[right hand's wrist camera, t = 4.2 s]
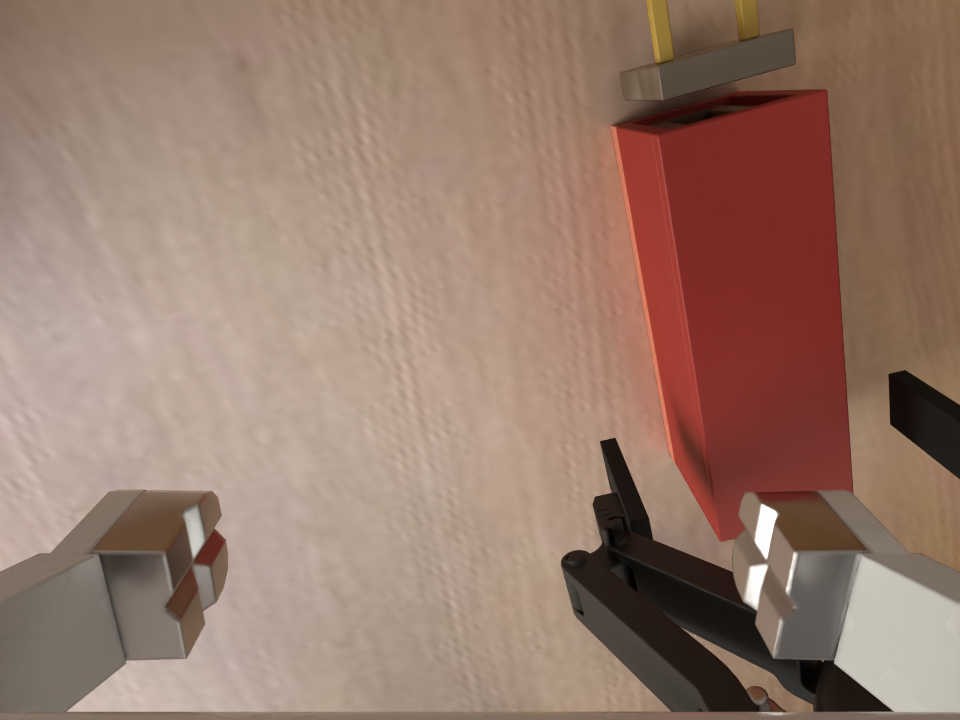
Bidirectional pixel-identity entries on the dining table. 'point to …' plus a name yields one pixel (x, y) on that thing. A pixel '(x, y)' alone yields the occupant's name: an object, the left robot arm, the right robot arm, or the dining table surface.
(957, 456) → the left robot arm
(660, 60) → the drawer
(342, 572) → the dining table surface
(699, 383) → the red drawer housing
